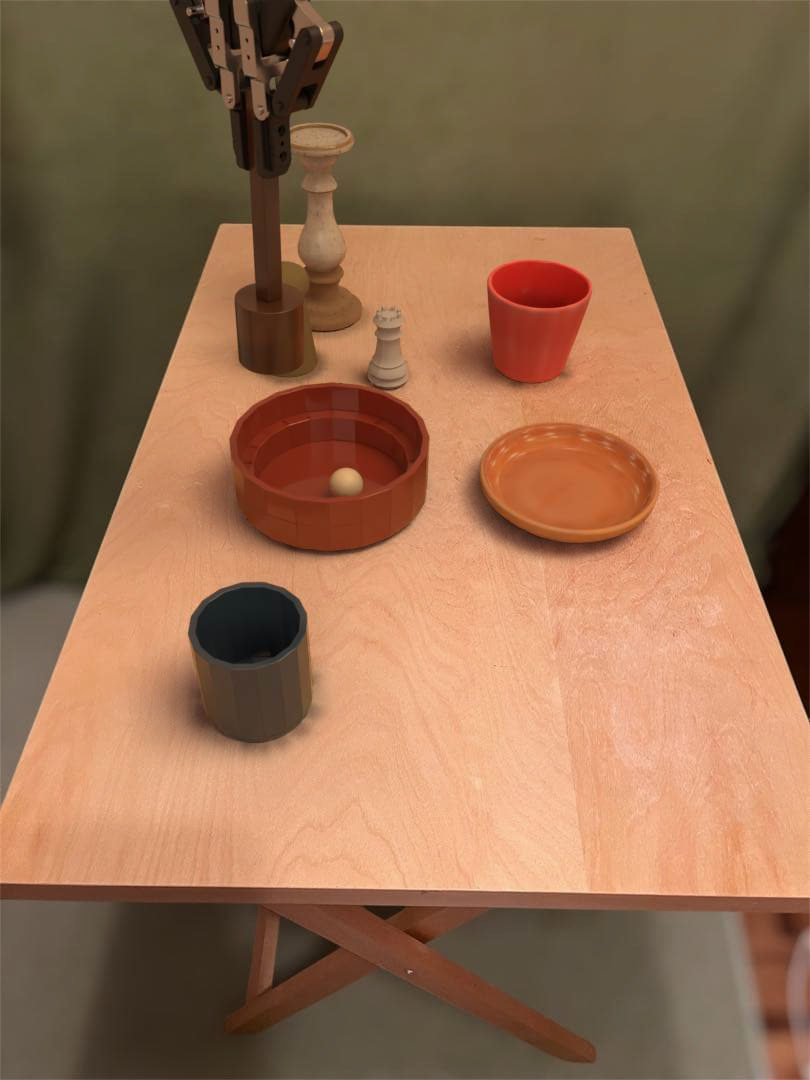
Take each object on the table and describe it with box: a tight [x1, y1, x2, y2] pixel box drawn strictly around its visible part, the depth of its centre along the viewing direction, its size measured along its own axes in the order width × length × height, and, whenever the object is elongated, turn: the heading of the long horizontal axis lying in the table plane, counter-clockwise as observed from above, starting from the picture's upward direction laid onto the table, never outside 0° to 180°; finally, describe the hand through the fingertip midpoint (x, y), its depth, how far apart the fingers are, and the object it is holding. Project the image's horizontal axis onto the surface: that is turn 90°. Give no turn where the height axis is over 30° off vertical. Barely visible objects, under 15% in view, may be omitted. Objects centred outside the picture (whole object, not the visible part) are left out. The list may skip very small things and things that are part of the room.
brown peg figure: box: [275, 260, 318, 378], centre depth 96 cm, size 6×6×11 cm
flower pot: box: [486, 259, 593, 384], centre depth 97 cm, size 11×11×10 cm
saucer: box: [479, 421, 661, 544], centre depth 82 cm, size 16×16×3 cm
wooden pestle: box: [233, 86, 305, 376], centre depth 63 cm, size 5×5×19 cm
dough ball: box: [329, 468, 363, 497], centre depth 81 cm, size 3×3×3 cm
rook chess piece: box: [367, 305, 410, 390], centre depth 94 cm, size 4×4×8 cm
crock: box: [187, 581, 314, 743], centre depth 63 cm, size 8×8×8 cm
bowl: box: [228, 382, 431, 552], centre depth 81 cm, size 17×17×6 cm
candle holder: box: [290, 122, 363, 332], centre depth 100 cm, size 9×9×20 cm
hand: (263, 170), depth 60 cm, fingers closed on wooden pestle, 1 cm apart
